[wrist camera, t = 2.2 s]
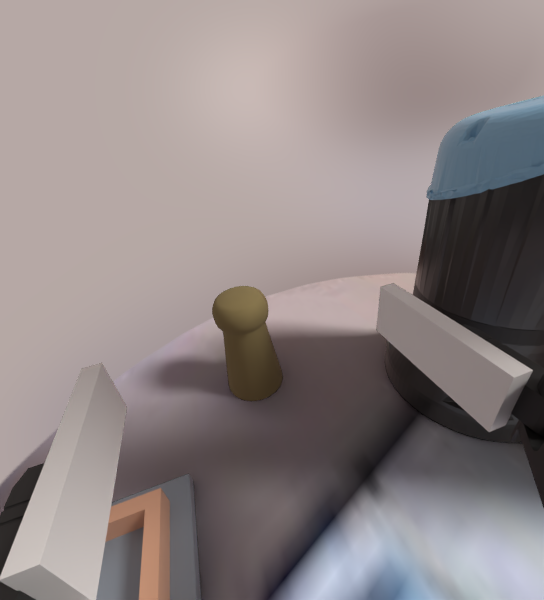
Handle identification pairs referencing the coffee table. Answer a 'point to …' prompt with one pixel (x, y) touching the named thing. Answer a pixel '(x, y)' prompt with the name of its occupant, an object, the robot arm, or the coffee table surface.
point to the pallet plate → (152, 545)
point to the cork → (247, 343)
